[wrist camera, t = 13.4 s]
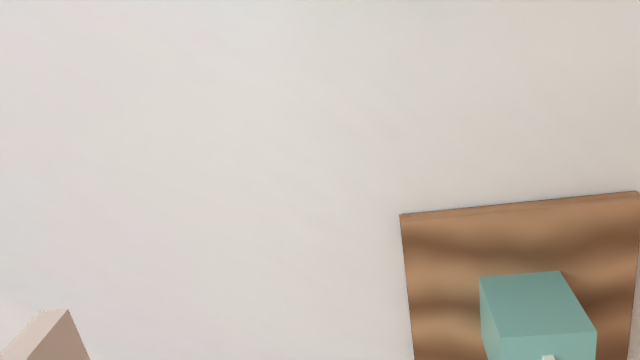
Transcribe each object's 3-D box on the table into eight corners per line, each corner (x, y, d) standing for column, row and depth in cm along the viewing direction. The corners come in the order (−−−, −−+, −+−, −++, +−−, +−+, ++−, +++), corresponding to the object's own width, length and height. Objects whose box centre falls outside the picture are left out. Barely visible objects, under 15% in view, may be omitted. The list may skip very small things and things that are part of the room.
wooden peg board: (399, 214, 46) (405, 256, 39) (635, 190, 43) (682, 231, 37) (417, 380, 53) (424, 438, 47) (617, 369, 51) (654, 428, 44)
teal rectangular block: (478, 277, 46) (502, 343, 38) (559, 270, 45) (600, 337, 37) (481, 337, 49) (503, 410, 41) (557, 332, 48) (595, 406, 40)
